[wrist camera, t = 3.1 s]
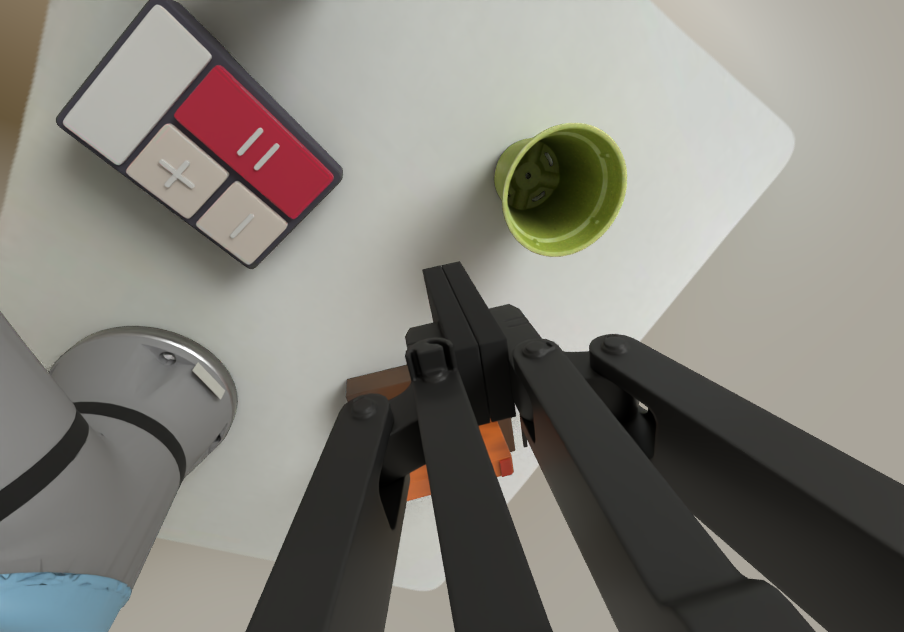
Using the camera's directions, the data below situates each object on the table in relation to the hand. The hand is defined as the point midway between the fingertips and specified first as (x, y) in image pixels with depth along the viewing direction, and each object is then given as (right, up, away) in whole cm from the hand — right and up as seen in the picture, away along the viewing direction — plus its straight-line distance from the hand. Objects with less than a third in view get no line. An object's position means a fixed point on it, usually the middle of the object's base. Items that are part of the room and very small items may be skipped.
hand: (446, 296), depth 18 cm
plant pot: (+7, +12, +21) cm, 25 cm away
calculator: (-18, +12, +16) cm, 27 cm away
